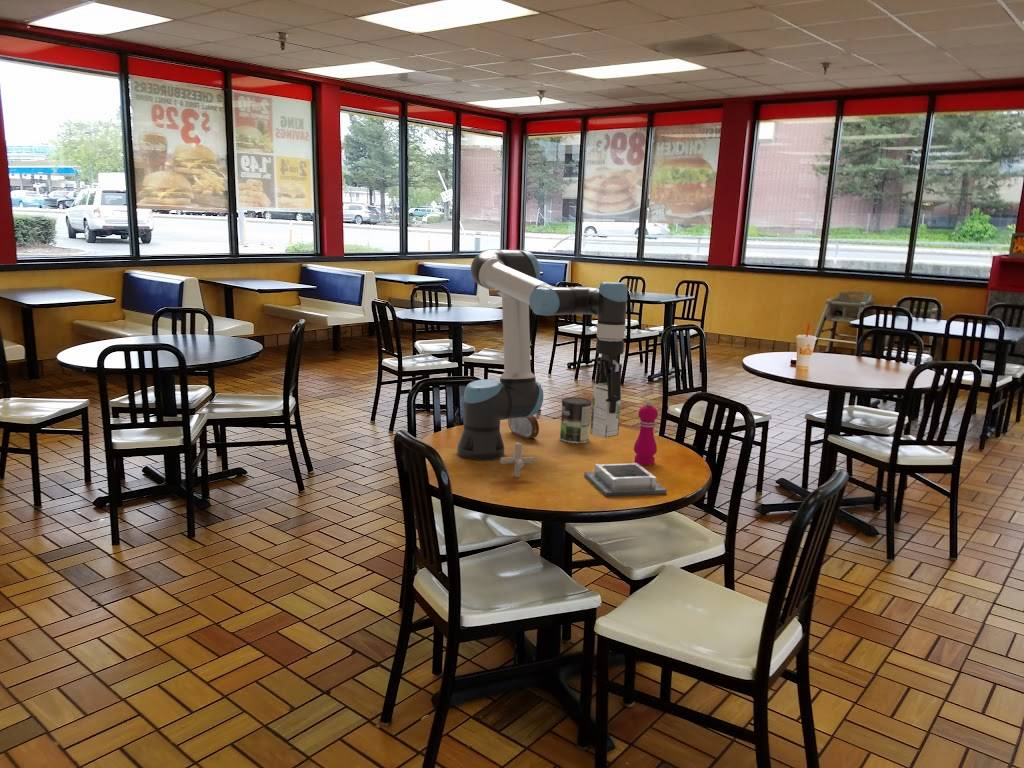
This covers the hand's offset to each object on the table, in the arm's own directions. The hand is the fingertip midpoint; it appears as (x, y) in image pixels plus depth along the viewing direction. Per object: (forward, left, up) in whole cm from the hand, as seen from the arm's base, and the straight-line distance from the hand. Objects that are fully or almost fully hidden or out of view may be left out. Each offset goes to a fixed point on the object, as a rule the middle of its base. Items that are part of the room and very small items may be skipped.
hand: (605, 420), depth 210 cm
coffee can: (+8, +49, -20) cm, 54 cm away
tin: (-9, +56, -20) cm, 60 cm away
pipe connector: (-22, +12, -20) cm, 32 cm away
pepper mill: (+22, +21, -20) cm, 37 cm away
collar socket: (+7, +1, -20) cm, 21 cm away
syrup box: (0, 0, -4) cm, 4 cm away
